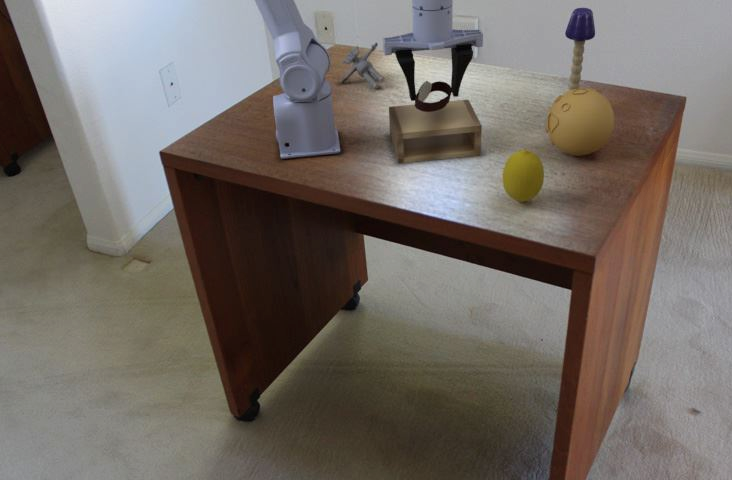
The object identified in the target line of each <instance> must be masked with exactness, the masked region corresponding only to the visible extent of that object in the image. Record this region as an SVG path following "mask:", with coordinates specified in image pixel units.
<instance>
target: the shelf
mask: <svg viewBox="0 0 732 480" xmlns="http://www.w3.org/2000/svg"><path fill="white" fill-rule="evenodd" d="M388 117H389V119H388V121H389V135H390V140H391V144H392V147H393V151H394V156H395V159H396V161H397V164H407V163H416V162H417V163H418V162H427V161H437V160H445V159H447V160H448V159H455V158H458V159H459V158H466V157H478V156H481V155H482V130H483V129H482V126H483V125H482V123H481V121H480V120H479V117H478V115H477V114H476V111H475V109H474V107H473V105H472V104H471V102H470V100H469V99H457V100H449V102H448V104H447V105H446V106H445V107H444V108H442V109H440V110H437V111H433V112H424V111H420V110H418V109H417V108H416V107H415V104H406V105H394V106H388Z"/></svg>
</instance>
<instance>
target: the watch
mask: <svg viewBox="0 0 732 480" xmlns="http://www.w3.org/2000/svg"><path fill="white" fill-rule="evenodd" d="M433 92H442V93H444V94H446V96H445V97H444V98H442V99H440V100H439V101H435V102H428V101H427V102H426V99H427V98H428V97H429V95H430V94H431V93H433ZM451 96H452V90H451V84H449V83H447V82H445V81H440V80H439V81H438V80H437V81H434V82H430V81H428V80H426V81H424V82H423V83H422V84H421V85H420V86H419V89H418V91H417V92H416V99H415V101H414V105H415V107H416V108H417V109H418V110H420V111H424V112H433V111H437V110H440V109H442V108H444V107H445V106H446V105H447V104H448V102H449V101H451Z"/></svg>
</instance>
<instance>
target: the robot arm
mask: <svg viewBox="0 0 732 480" xmlns="http://www.w3.org/2000/svg"><path fill="white" fill-rule="evenodd" d="M254 2H255V4H256V6H257V9H258V11H259V13H260V15H261V17H262V19H263V21H264V24H265V26H266V27H267V28H266V29H267V30H268V32H269V34H270V36H271V38H272V41H273V50H274V61H275V63H276V65H277V67H278V70H279V84H280V87H281V89H282V91H283V92H284V93H281V94H276V95H272V96H273V97H272V102H273V113H274V120H275V126H276V130H275V138H276V141H277V142H278V147H279V155H280V159H282V160H283V159H284V160H285V159H293V158H304V157H314V156H323V155H324V156H326V155H335V154H340V153H341V148H340V146H341V145H340V139H339V138H340V137H339V132H338V129H336V123H335V111H334V102H333V91H332V87H331V85H330V83H329V82H328V80H327V78H326V75H327V74H328V72H329V71H330V68H331V56H330V53H329V51H328V50H327V48H326V47H325V46H324V45H323V44H322V43H320V41H319V40H318V39H317V38H316V36H315V34H314V31H313V30H312V29H311V28H310V27H309V26H308V25H307V24H306V23H305V22H304V20H303V18H302V15H301V13H300V11H299V9H298V6H297V5H296V1H295V0H254ZM453 2H454V1H453V0H411V5H412V7H411V8H412V10H411V11H412V32H409V33H404V34H399V35H396V36H390V37H383V38H382V50H383V51H382V52H383V54H384V56H392V55H393V54H394V55H395V58H396V61H397V63H398V65H399V67H400V69H401V71H402V73H403V76H404V77H405V81H406V83H407V89H408V95H409V98H410V101H411V102H415V99H416V94H417V92H416V83H415V81H416V80H415V78H416V77H415V76H416V75H415V74H416V73H415V71H416V70H415V69H416V60H415V57H414V54H413V52H422V51H438V50H445V49H450V52H451V53H450V54H451V80H450V81H451V82H450V86H451V90H452V92H451V95H452V96H453V97H454V98H458V97H459V94H460V88H461V84H462V81H463V78H464V76H465V73H466V71H467V69H468V67H469V65H470V63H471V61H472V60H473V57H474V50H473V47H475V48H483V46H484V32H483V31H482V30H481V29H453V4H454V3H453Z"/></svg>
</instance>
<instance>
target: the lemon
mask: <svg viewBox="0 0 732 480" xmlns="http://www.w3.org/2000/svg"><path fill="white" fill-rule="evenodd" d="M544 179H545V170H544V165H543V162H542V160H541V158H540V157H539V156H538V155H537V154H536V153H535V152H533V151H531V150H528V149H522V150H518V151H516V152H513V153H512V154H511V155H510V156H509V157H508V159H507V160H506V161H505V164H504V167H503V170H502V185H503V189H504V192H505V193H506V194H507V196H508V197H510V198H512V199H513V200H514V201H518V203H520V204H523V203H524V202H528V201H530V200H532V199H534V198H535V197H537V196H538V195H539V193H540V191H541V190H542V188H543V184H544Z"/></svg>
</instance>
